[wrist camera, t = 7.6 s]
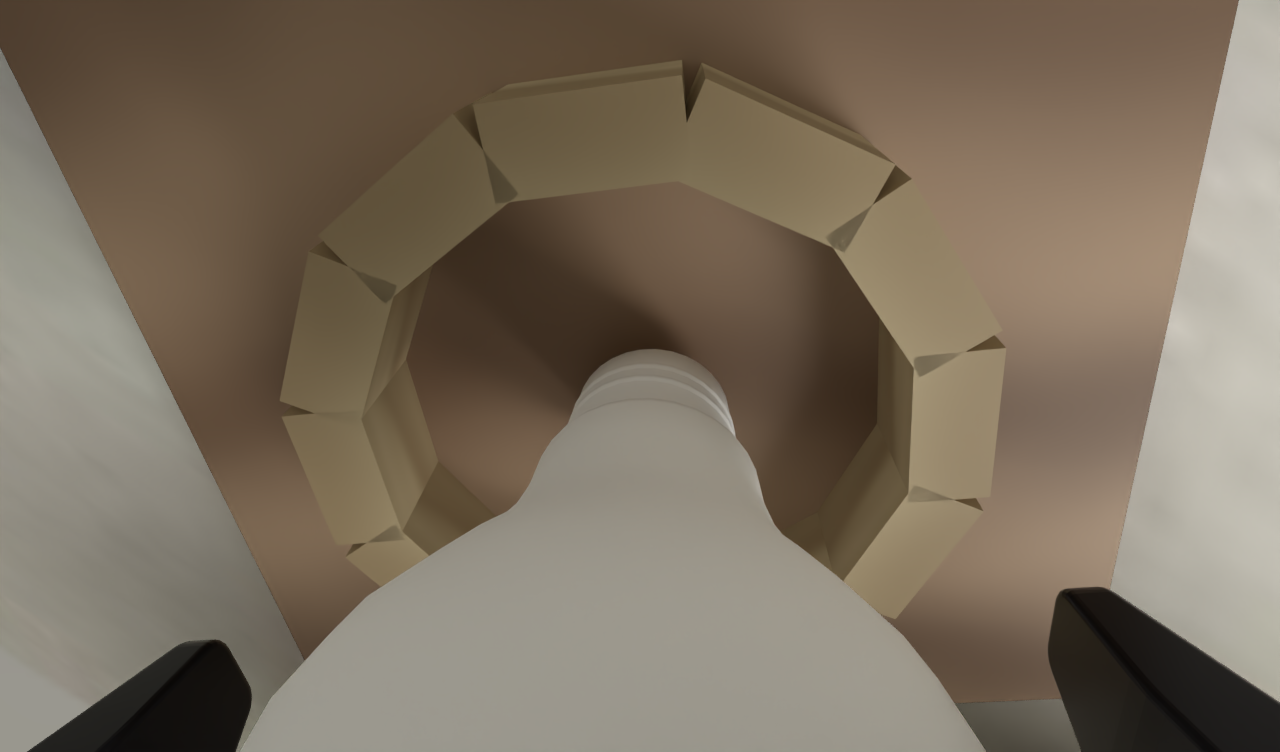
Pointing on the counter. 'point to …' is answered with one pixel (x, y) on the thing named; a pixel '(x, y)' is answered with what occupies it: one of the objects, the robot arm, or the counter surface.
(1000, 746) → the counter surface
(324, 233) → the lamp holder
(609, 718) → the lightbulb
